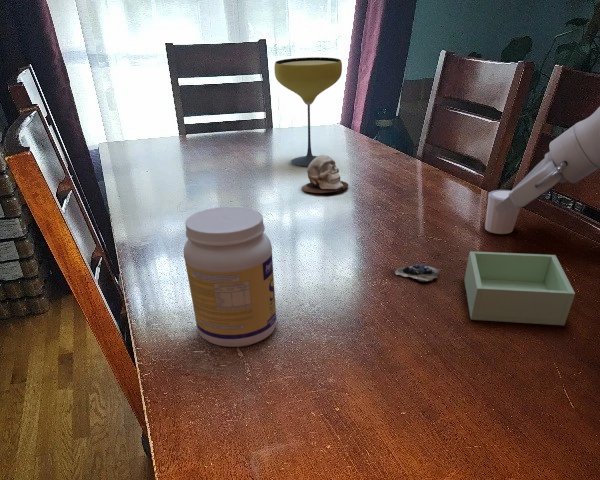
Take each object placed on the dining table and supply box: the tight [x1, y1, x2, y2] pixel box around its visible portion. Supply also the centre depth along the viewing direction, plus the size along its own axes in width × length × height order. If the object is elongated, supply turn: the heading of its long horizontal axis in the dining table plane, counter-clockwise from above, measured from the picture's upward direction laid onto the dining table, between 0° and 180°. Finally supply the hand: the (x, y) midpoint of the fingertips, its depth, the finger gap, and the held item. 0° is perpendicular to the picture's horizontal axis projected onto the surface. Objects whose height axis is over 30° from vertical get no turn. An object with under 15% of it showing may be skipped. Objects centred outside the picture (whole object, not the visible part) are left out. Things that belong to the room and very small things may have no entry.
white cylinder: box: [484, 189, 521, 235], centre depth 104 cm, size 7×7×7 cm
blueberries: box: [394, 263, 441, 282], centre depth 90 cm, size 7×8×2 cm
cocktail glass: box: [273, 56, 343, 168], centre depth 143 cm, size 18×18×25 cm
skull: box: [301, 154, 349, 194], centre depth 130 cm, size 12×10×10 cm
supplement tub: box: [183, 205, 278, 348], centre depth 73 cm, size 12×12×17 cm
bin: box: [464, 251, 576, 326], centre depth 81 cm, size 14×14×5 cm
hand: (504, 202), depth 103 cm, fingers open, 8 cm apart
